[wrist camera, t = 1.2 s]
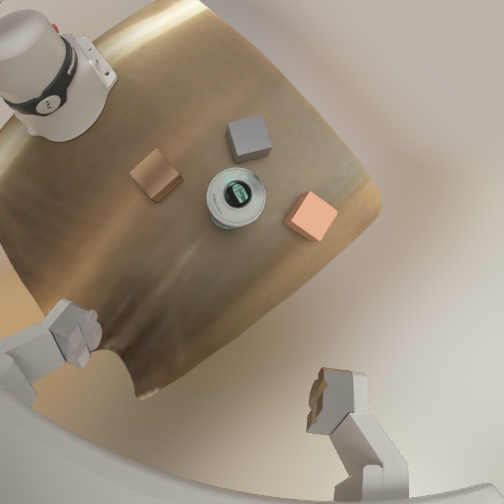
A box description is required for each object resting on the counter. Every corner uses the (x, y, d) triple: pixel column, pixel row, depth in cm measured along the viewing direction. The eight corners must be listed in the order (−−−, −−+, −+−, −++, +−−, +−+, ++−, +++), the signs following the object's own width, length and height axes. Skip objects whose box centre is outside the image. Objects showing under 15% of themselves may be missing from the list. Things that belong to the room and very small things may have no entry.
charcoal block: (226, 134, 44) (227, 123, 39) (257, 126, 44) (262, 115, 39) (235, 164, 44) (237, 155, 39) (266, 156, 45) (272, 146, 40)
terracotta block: (282, 222, 46) (290, 220, 41) (300, 195, 46) (309, 190, 41) (309, 240, 46) (320, 241, 41) (325, 214, 46) (338, 211, 41)
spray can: (221, 186, 44) (226, 148, 24) (253, 204, 45) (283, 180, 25) (203, 218, 44) (193, 205, 24) (235, 236, 45) (252, 237, 25)
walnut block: (137, 179, 43) (129, 172, 38) (162, 157, 43) (156, 148, 38) (158, 203, 43) (151, 199, 38) (183, 180, 44) (179, 173, 39)
